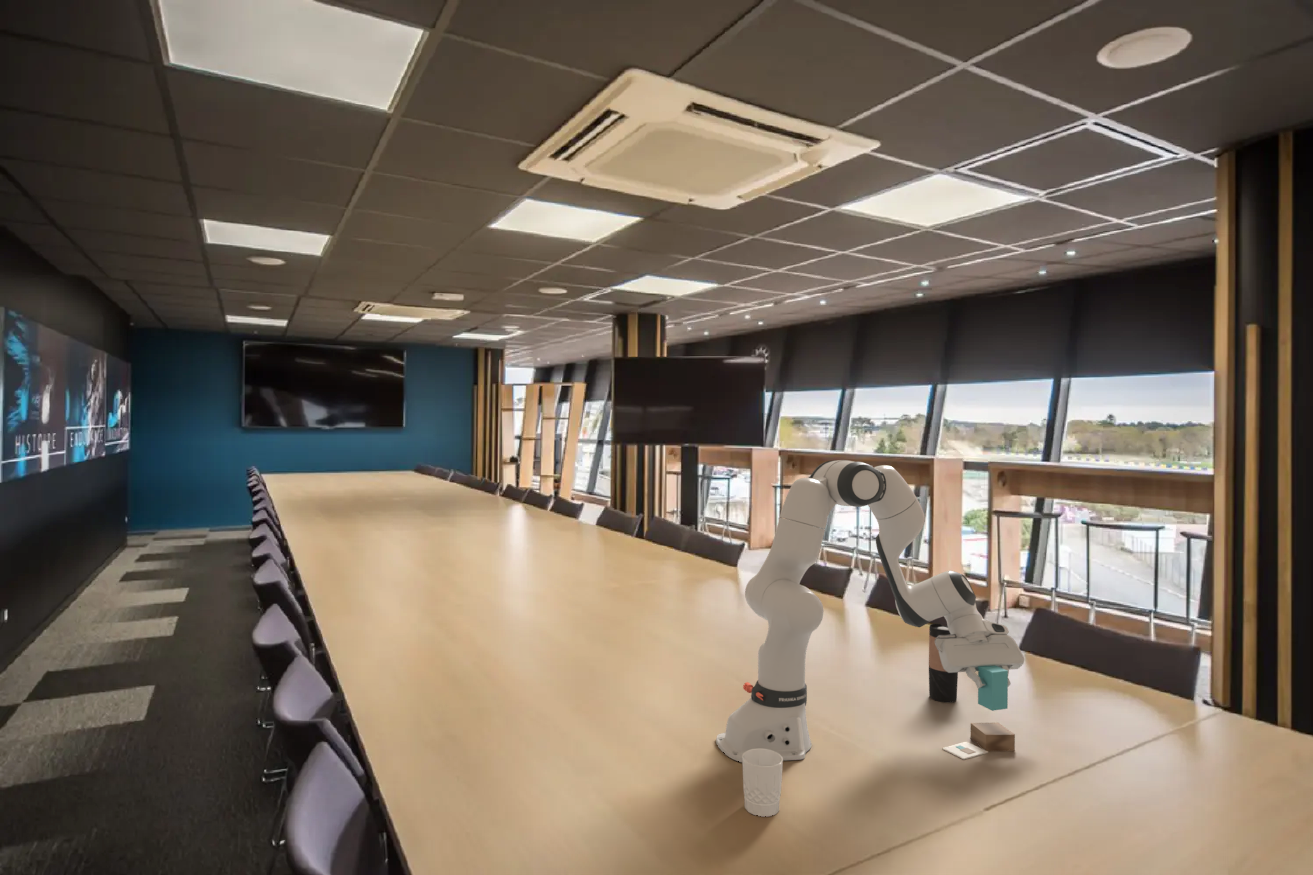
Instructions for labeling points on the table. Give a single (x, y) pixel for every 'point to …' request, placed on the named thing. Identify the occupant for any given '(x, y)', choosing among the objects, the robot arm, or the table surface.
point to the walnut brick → (992, 737)
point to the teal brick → (993, 687)
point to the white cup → (762, 781)
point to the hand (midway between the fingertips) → (994, 686)
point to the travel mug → (940, 670)
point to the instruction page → (965, 750)
